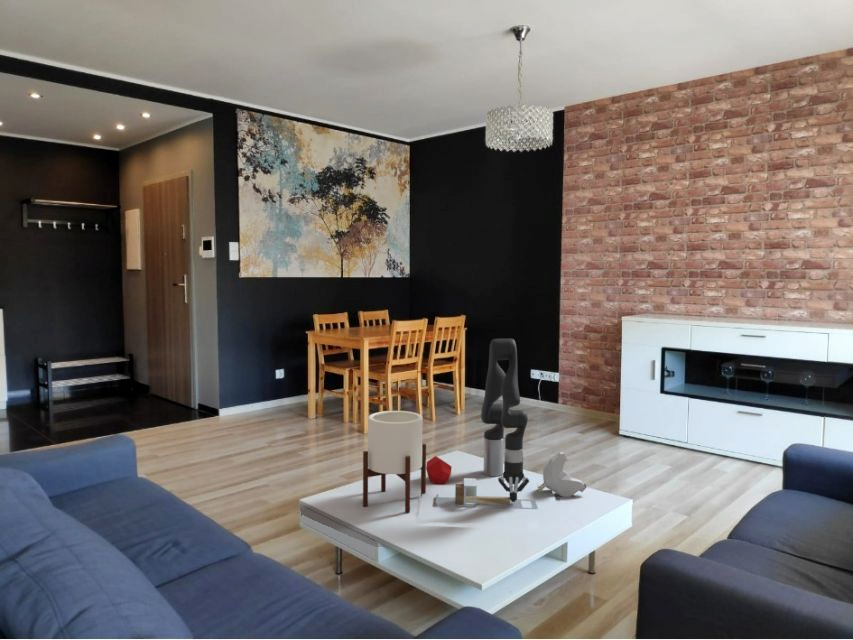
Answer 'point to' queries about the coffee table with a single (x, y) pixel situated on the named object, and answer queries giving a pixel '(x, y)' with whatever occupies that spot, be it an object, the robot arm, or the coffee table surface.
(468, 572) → the coffee table surface
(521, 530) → the coffee table surface
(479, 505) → the grey pocketed tray
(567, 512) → the coffee table surface
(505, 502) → the beech dowel
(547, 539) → the coffee table surface
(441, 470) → the apple
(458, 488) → the walnut block
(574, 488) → the grey crescent shape
